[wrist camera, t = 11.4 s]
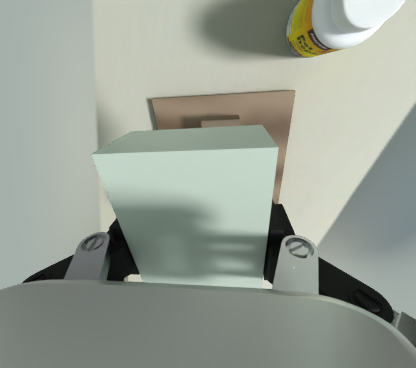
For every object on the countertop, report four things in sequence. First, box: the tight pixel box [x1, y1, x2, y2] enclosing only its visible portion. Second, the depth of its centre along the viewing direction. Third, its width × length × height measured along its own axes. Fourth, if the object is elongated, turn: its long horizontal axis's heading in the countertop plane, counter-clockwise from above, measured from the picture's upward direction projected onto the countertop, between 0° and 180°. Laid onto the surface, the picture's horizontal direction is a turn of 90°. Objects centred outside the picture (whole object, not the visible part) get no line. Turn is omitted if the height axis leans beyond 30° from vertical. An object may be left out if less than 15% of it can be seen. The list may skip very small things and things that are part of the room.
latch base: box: [152, 90, 295, 204], centre depth 28 cm, size 22×18×4 cm
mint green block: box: [91, 125, 279, 289], centre depth 9 cm, size 10×6×3 cm, turn 4°
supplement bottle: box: [286, 0, 405, 58], centre depth 16 cm, size 6×6×10 cm
